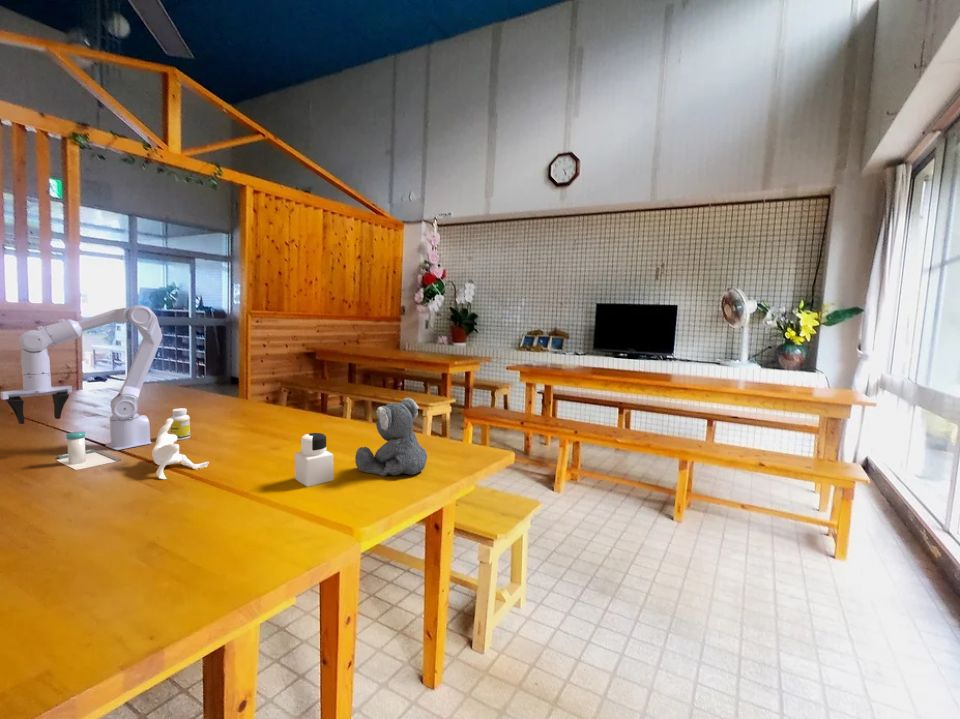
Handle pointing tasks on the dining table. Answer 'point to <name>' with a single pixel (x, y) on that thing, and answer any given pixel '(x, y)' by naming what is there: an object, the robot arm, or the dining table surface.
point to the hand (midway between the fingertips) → (39, 420)
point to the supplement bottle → (180, 424)
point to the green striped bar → (67, 454)
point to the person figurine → (169, 451)
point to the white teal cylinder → (76, 447)
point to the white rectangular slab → (91, 460)
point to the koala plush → (394, 442)
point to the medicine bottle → (313, 461)
